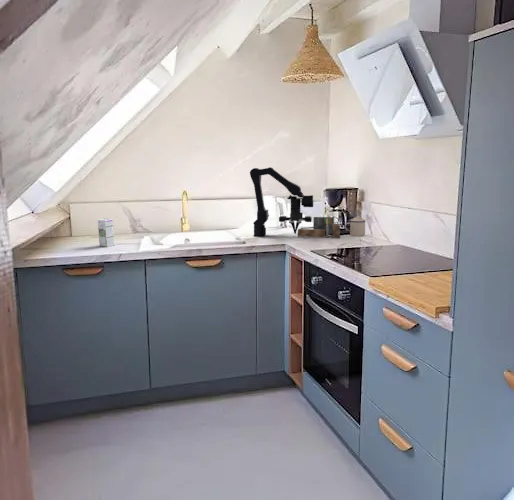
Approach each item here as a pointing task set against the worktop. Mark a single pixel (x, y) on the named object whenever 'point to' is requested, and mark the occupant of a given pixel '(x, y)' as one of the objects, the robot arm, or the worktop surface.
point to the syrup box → (106, 232)
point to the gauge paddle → (327, 227)
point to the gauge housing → (333, 228)
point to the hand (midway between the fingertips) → (295, 233)
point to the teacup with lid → (357, 226)
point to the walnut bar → (311, 233)
